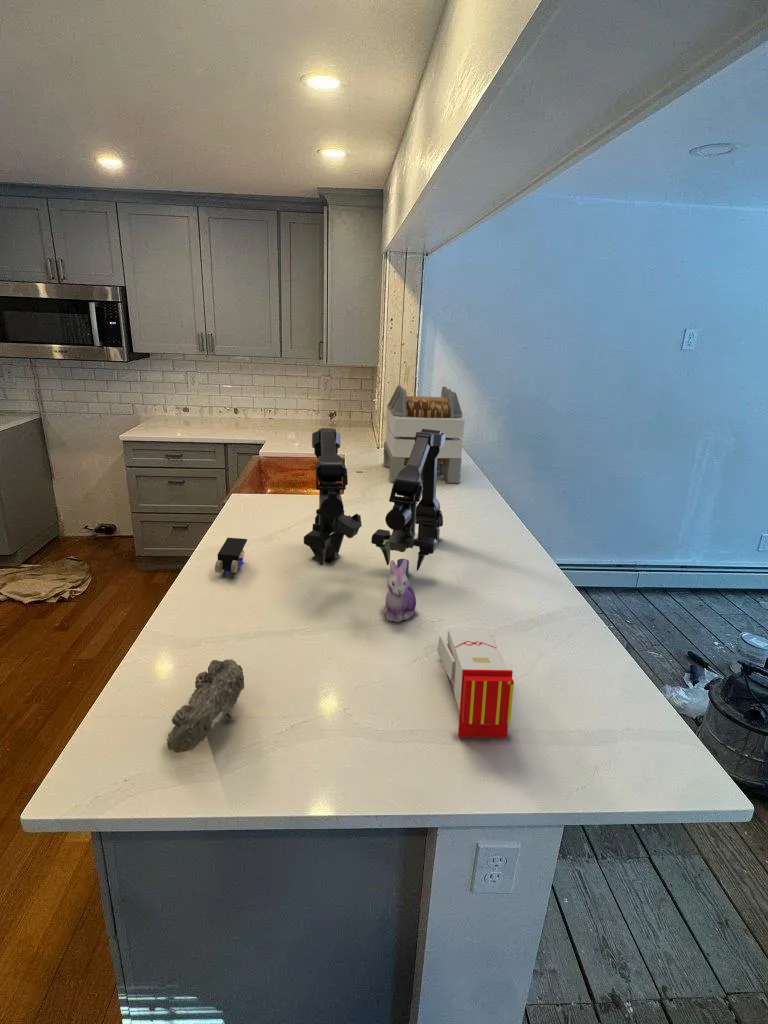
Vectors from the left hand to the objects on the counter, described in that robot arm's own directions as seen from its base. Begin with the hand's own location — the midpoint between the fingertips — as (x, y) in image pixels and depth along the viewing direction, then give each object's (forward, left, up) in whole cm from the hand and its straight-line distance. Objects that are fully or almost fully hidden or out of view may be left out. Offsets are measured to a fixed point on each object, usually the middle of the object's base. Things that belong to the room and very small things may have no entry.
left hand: (329, 558), depth 157 cm
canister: (+16, +17, -9) cm, 25 cm away
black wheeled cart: (-30, -3, -9) cm, 32 cm away
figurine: (+24, -6, -9) cm, 26 cm away
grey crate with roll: (-15, +125, -9) cm, 126 cm away
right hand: (+16, +17, -6) cm, 24 cm away
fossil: (+5, -58, -9) cm, 59 cm away
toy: (+48, -29, -9) cm, 57 cm away
